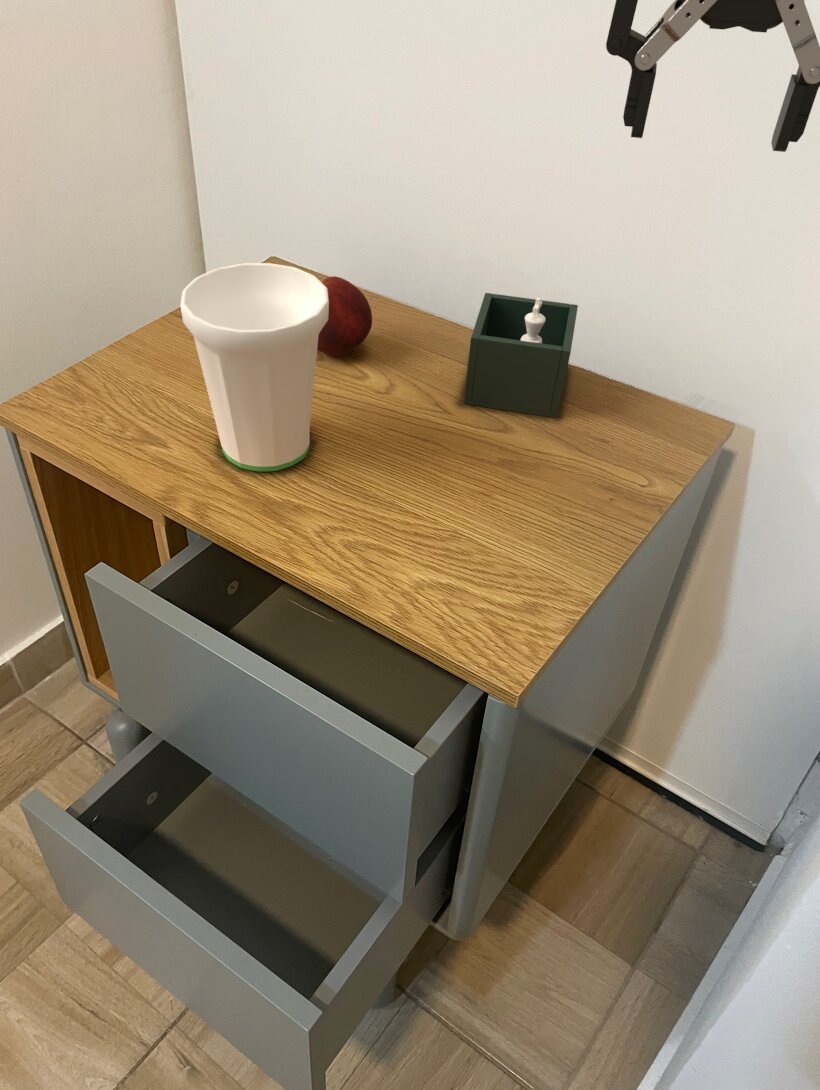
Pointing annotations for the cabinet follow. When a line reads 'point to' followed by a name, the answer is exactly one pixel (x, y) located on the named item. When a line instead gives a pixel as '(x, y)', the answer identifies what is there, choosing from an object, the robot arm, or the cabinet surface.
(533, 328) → the chess piece
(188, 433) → the cabinet surface
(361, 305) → the apple
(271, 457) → the cup
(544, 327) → the bin
